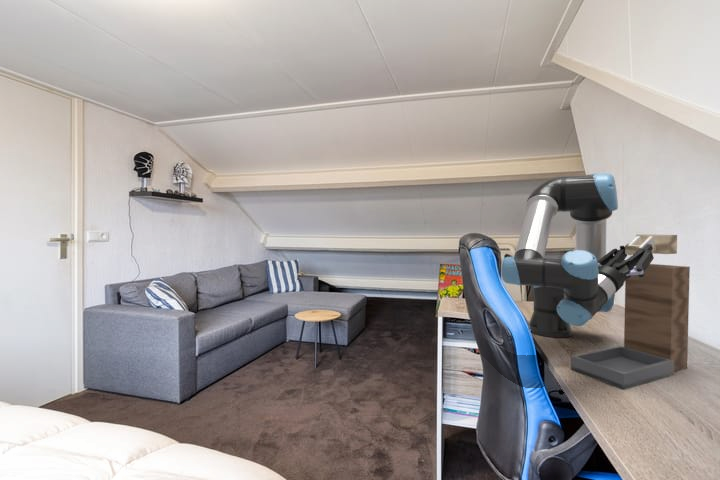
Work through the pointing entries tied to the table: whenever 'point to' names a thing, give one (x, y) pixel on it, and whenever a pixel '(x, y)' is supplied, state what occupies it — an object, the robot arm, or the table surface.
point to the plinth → (658, 313)
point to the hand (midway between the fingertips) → (646, 240)
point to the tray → (622, 366)
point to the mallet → (656, 244)
